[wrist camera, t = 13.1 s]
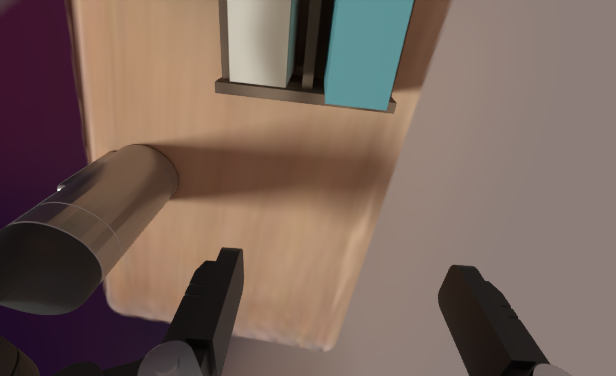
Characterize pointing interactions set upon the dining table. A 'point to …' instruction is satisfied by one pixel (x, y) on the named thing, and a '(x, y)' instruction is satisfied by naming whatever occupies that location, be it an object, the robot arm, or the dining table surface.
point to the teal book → (364, 51)
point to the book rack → (278, 50)
